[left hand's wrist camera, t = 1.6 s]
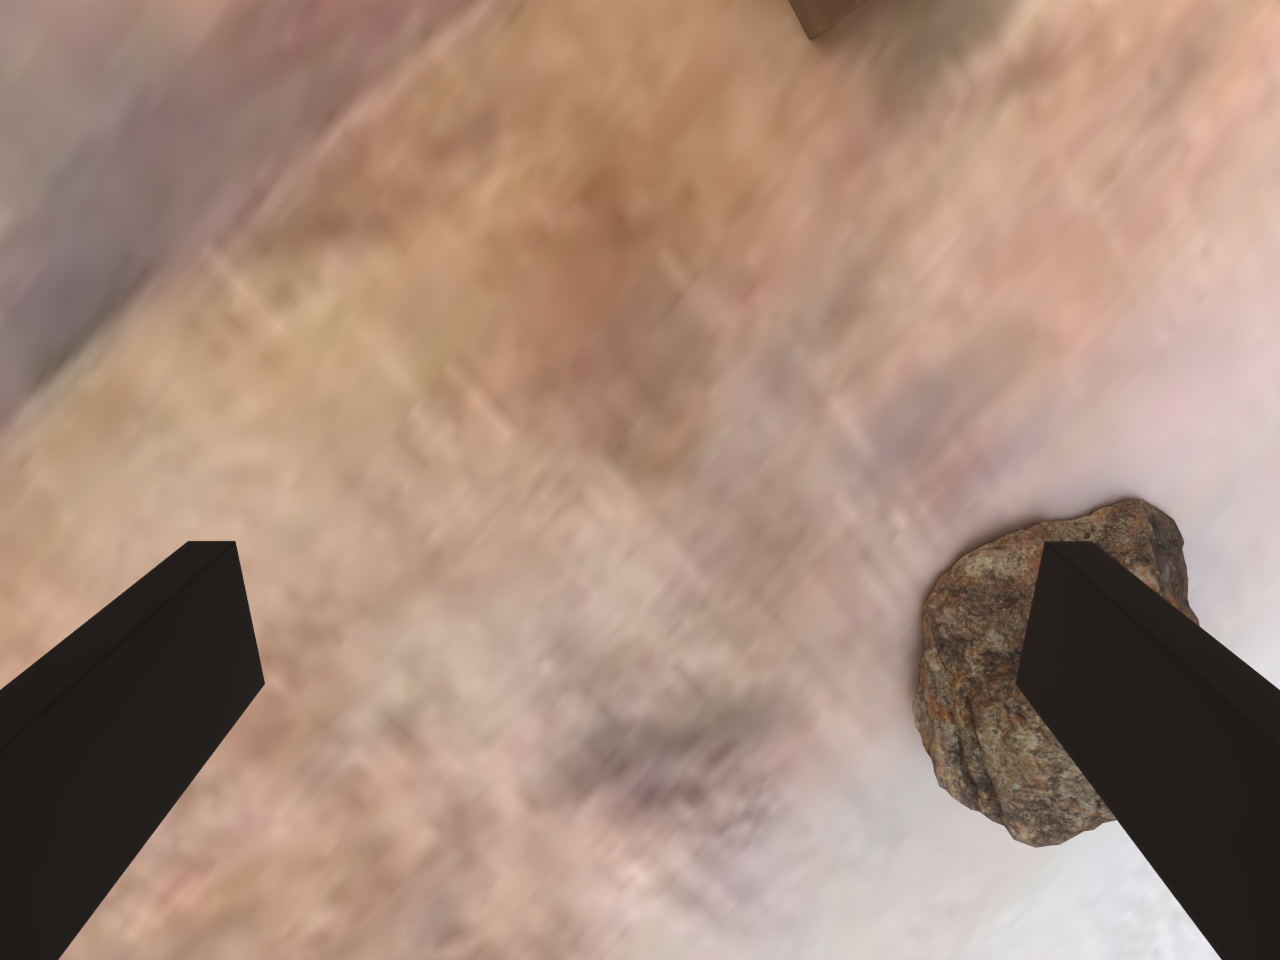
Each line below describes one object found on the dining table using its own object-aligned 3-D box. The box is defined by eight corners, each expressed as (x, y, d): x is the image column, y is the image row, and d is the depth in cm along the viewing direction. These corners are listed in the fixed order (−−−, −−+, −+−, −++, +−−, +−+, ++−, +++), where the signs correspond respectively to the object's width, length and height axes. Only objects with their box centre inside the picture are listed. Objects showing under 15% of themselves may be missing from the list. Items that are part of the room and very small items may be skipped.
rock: (1186, 625, 38) (1138, 453, 34) (1354, 739, 30) (1312, 529, 26) (914, 751, 39) (842, 597, 36) (1004, 894, 31) (921, 711, 28)
